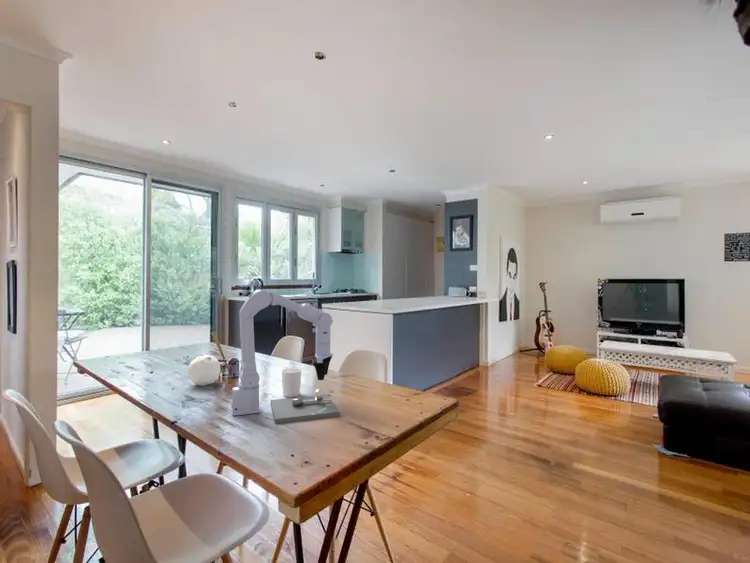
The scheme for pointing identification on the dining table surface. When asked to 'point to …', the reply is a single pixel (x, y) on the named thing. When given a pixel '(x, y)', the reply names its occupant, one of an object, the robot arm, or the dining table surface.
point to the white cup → (291, 382)
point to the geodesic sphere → (204, 370)
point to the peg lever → (318, 398)
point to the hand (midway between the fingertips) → (322, 377)
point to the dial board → (302, 410)
